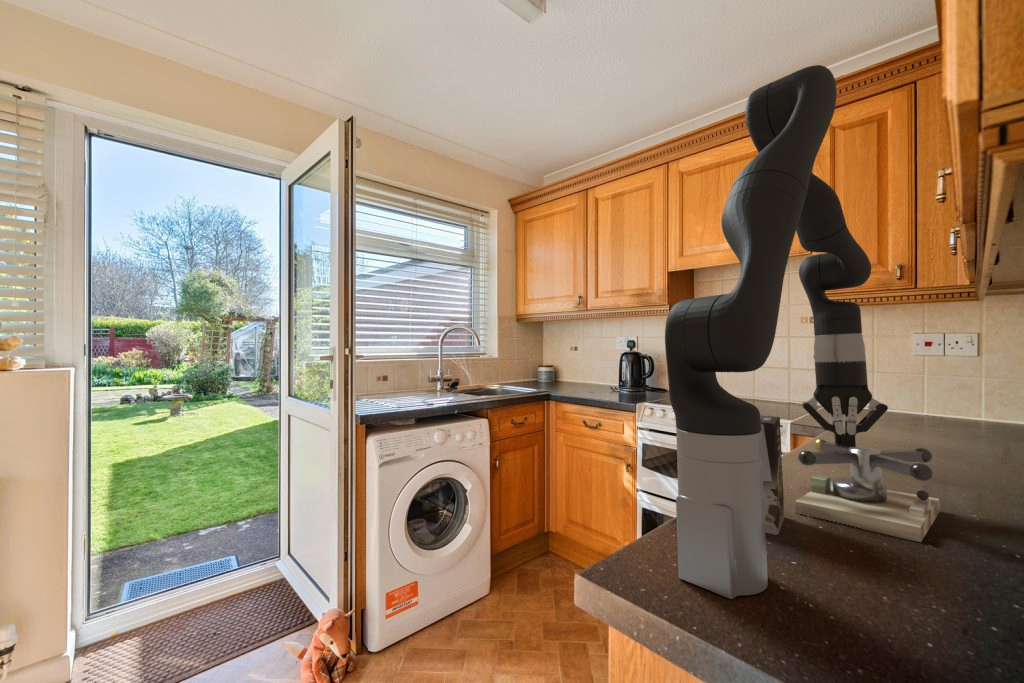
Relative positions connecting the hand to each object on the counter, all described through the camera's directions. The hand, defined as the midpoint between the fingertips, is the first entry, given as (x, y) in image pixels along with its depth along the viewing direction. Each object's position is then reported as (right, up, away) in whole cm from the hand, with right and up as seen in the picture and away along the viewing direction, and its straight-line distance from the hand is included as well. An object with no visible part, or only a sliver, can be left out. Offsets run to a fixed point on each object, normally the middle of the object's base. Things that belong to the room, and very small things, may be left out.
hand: (846, 454), depth 78 cm
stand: (-3, -7, -8) cm, 11 cm away
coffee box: (-22, -8, -11) cm, 26 cm away
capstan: (-3, -5, -8) cm, 10 cm away
